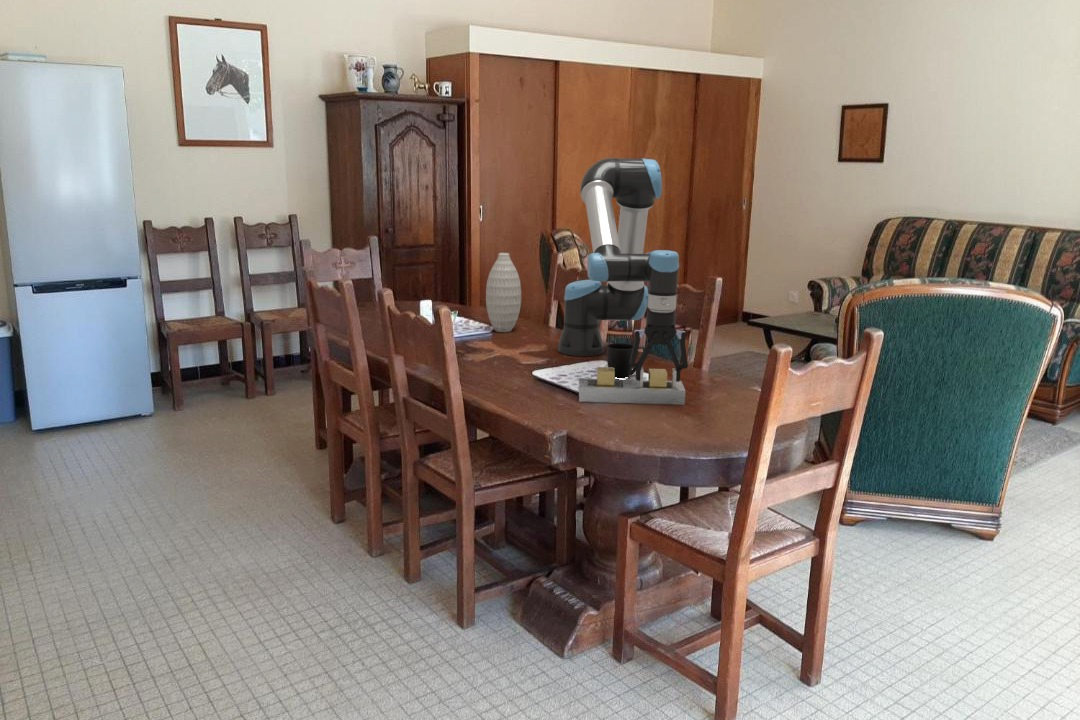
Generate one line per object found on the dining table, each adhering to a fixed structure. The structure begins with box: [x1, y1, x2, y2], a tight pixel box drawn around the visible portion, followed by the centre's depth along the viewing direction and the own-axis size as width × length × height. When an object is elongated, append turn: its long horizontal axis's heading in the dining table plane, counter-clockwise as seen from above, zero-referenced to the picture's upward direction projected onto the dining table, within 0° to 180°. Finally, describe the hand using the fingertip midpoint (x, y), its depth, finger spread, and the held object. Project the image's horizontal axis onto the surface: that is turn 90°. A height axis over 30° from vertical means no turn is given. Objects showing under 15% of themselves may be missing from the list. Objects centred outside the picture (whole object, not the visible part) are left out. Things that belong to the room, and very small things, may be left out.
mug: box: [606, 342, 645, 378], centre depth 253 cm, size 8×12×10 cm
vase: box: [485, 252, 522, 333], centre depth 310 cm, size 13×13×28 cm
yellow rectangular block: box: [647, 368, 668, 389], centre depth 231 cm, size 4×4×8 cm
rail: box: [578, 377, 687, 406], centre depth 232 cm, size 9×28×4 cm, turn 88°
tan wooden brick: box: [596, 366, 615, 387], centre depth 232 cm, size 4×4×8 cm
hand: (656, 392), depth 232 cm, fingers open, 8 cm apart
